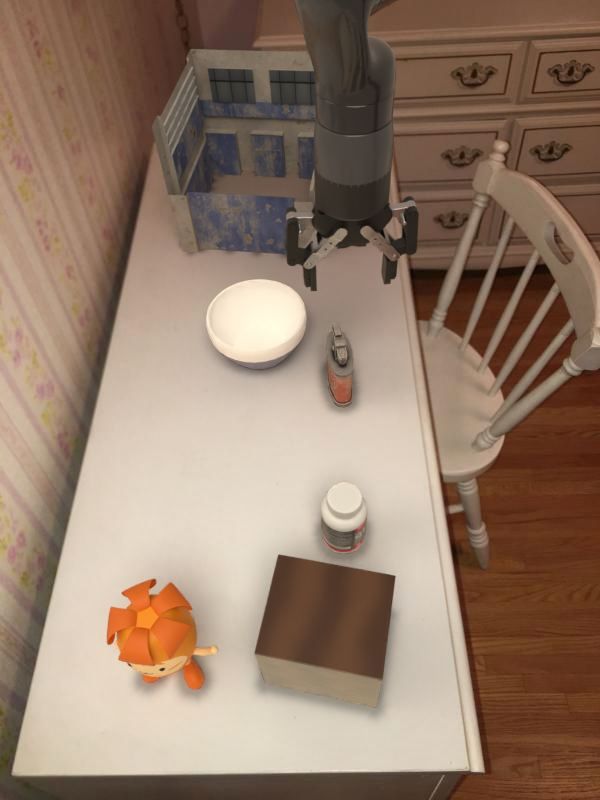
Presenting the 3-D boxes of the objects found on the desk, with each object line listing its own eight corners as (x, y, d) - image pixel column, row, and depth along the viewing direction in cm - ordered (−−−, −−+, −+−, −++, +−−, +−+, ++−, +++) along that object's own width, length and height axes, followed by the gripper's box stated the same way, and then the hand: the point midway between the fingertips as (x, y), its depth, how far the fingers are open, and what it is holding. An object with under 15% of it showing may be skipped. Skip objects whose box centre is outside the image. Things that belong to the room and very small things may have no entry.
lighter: (356, 406, 91) (358, 360, 83) (332, 409, 91) (332, 364, 83) (346, 362, 96) (347, 315, 88) (323, 365, 95) (322, 319, 87)
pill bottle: (364, 556, 78) (367, 520, 70) (320, 553, 78) (318, 517, 70) (366, 515, 81) (369, 477, 73) (323, 513, 81) (322, 474, 73)
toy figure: (116, 688, 70) (70, 649, 58) (138, 615, 75) (100, 565, 63) (222, 704, 69) (198, 669, 56) (237, 629, 73) (218, 581, 61)
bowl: (326, 336, 99) (326, 301, 93) (271, 401, 92) (267, 367, 86) (251, 301, 104) (245, 265, 98) (193, 359, 97) (184, 325, 91)
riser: (387, 614, 73) (395, 575, 64) (375, 707, 68) (382, 680, 58) (285, 594, 75) (278, 553, 66) (265, 684, 70) (254, 653, 60)
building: (331, 175, 123) (330, 50, 104) (314, 259, 109) (310, 133, 91) (213, 169, 126) (191, 46, 107) (182, 251, 112) (151, 126, 93)
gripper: (282, 189, 60) (291, 312, 73) (434, 175, 60) (416, 299, 73) (276, 143, 64) (286, 266, 77) (418, 130, 64) (404, 255, 77)
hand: (349, 282), depth 75 cm, fingers open, 8 cm apart
